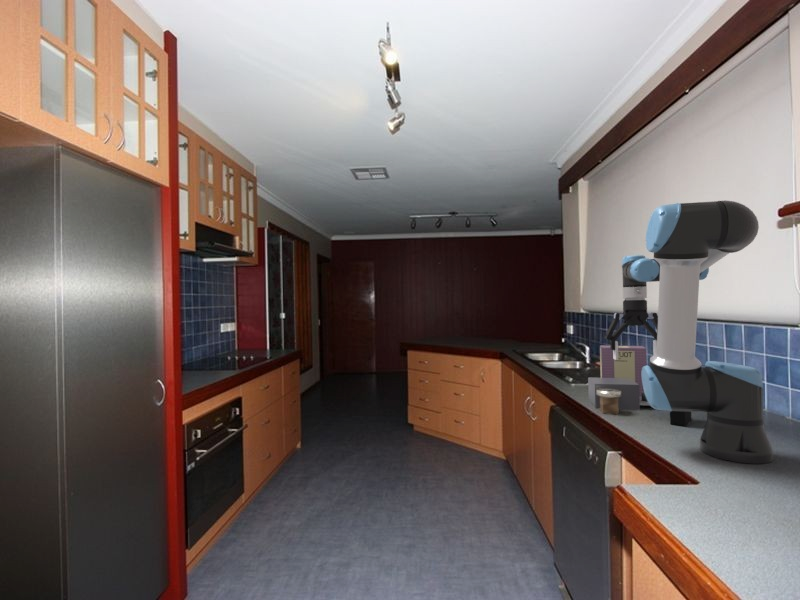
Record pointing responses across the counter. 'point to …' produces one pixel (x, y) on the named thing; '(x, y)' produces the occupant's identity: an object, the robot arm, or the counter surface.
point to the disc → (609, 393)
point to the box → (623, 363)
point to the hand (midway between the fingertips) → (635, 359)
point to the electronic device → (680, 417)
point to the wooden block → (609, 405)
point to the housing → (625, 385)
